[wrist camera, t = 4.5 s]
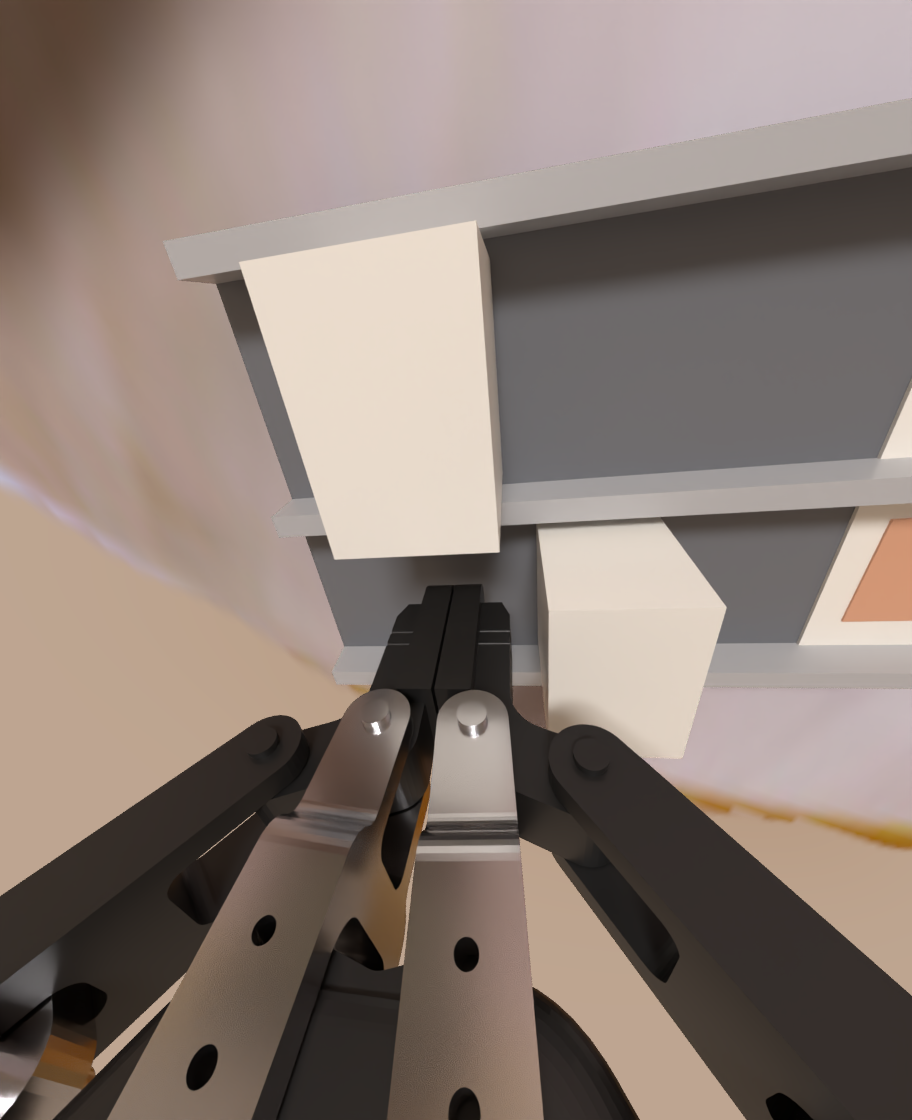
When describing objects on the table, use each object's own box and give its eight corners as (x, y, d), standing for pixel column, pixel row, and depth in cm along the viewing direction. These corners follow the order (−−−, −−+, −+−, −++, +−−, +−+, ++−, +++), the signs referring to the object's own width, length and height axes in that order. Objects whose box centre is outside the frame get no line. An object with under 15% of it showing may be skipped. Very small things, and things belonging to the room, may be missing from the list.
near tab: (490, 259, 8) (476, 220, 5) (502, 472, 10) (499, 552, 7) (347, 282, 8) (238, 261, 5) (389, 481, 11) (334, 559, 7)
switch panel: (1213, 92, 7) (1639, -41, 4) (904, 613, 13) (1005, 689, 11) (254, 260, 10) (162, 240, 7) (365, 622, 16) (336, 684, 14)
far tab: (655, 509, 10) (726, 607, 7) (635, 638, 12) (682, 758, 9) (536, 516, 11) (548, 611, 7) (537, 639, 13) (548, 754, 10)
